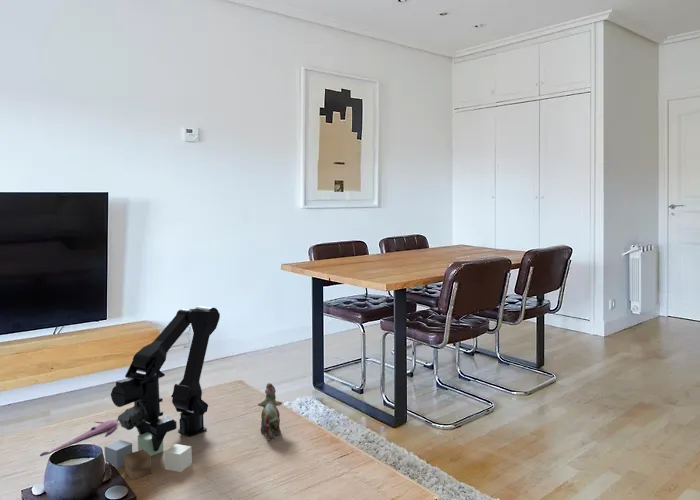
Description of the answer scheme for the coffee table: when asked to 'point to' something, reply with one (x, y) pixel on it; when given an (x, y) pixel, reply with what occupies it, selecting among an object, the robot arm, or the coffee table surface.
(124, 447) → the slate block
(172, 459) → the cream block
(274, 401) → the figurine
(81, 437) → the toy
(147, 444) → the sage block
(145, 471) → the walnut block
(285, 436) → the coffee table surface
